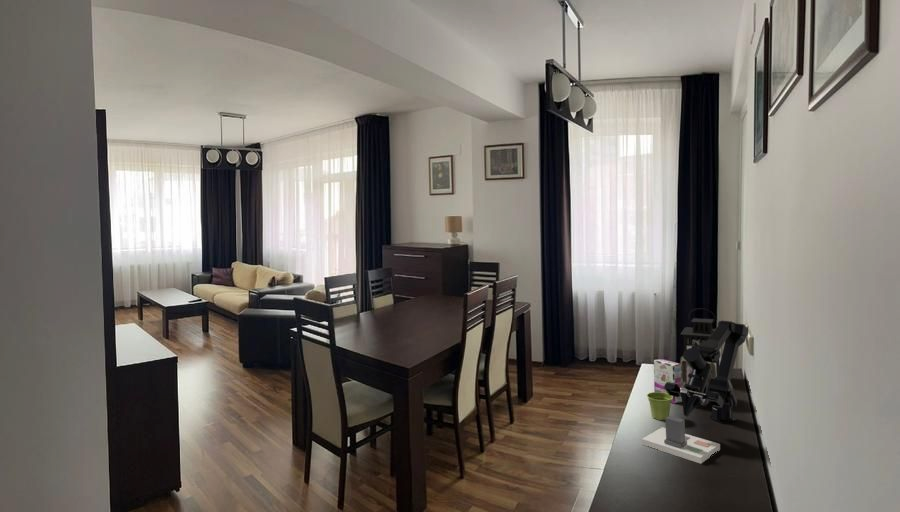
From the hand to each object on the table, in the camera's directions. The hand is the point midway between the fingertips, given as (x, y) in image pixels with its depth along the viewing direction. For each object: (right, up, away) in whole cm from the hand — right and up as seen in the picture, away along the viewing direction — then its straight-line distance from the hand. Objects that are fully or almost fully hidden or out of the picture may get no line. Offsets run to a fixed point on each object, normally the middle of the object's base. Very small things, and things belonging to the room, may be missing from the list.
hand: (685, 415), depth 171 cm
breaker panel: (-3, -10, -2) cm, 11 cm away
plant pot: (+2, -9, +24) cm, 25 cm away
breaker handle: (-5, -8, -4) cm, 11 cm away
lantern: (+40, -4, +66) cm, 78 cm away
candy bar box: (+13, -7, +43) cm, 46 cm away
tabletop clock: (+26, -6, +42) cm, 50 cm away
